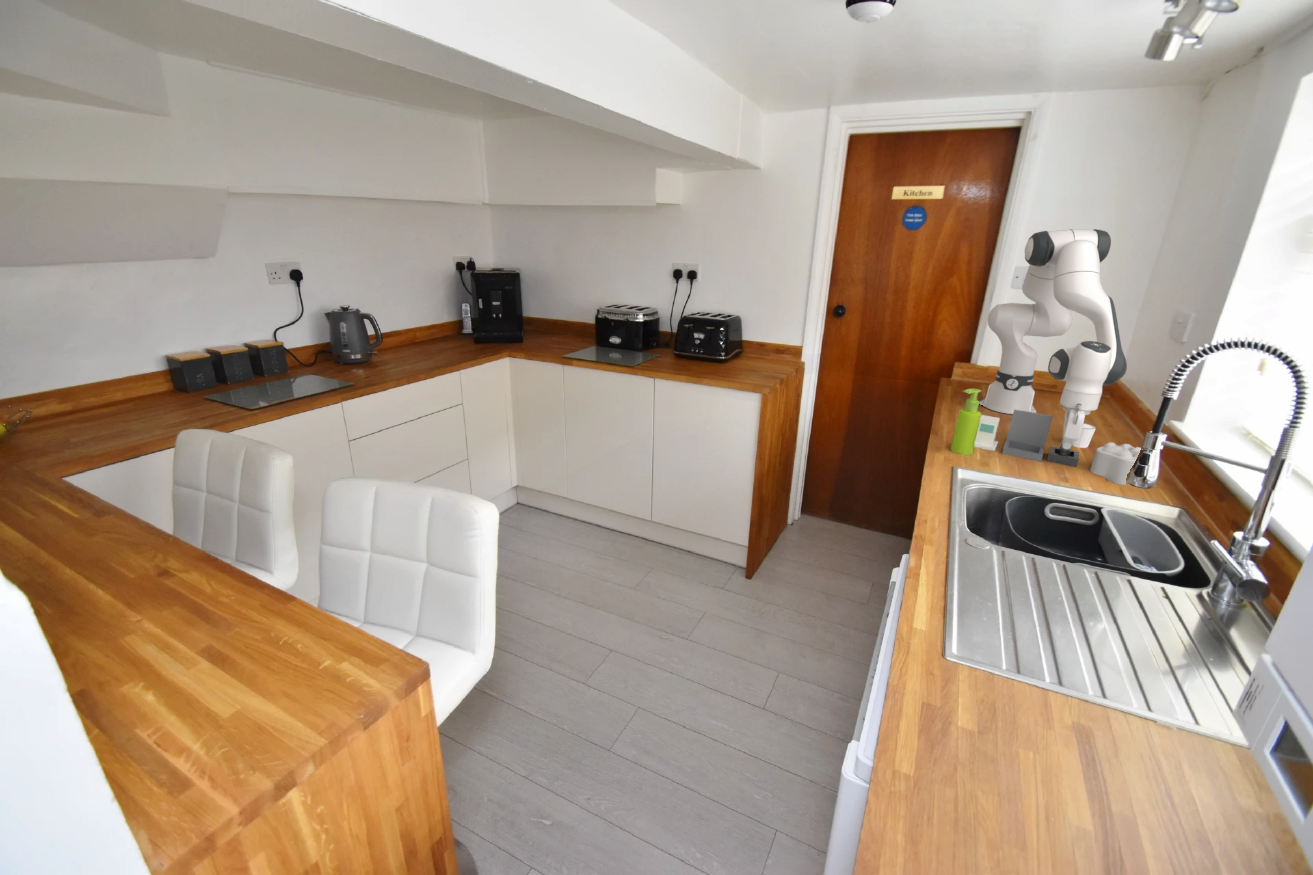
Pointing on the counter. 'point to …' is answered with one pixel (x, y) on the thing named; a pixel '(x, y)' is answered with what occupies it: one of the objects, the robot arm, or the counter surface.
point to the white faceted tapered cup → (1085, 436)
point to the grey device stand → (1027, 435)
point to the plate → (987, 446)
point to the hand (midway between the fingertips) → (1066, 445)
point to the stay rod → (1063, 450)
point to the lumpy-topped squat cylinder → (1114, 461)
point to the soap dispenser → (967, 425)
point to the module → (987, 430)
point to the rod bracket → (1063, 457)
